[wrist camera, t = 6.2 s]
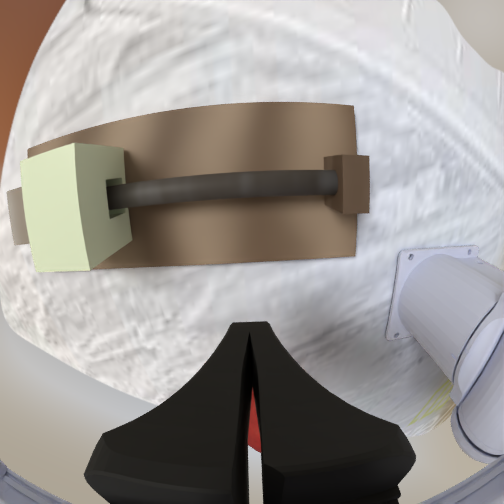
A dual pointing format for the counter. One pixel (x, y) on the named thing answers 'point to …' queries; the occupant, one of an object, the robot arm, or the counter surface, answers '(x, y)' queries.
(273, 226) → the cord board
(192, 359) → the counter surface
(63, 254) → the sleeve
